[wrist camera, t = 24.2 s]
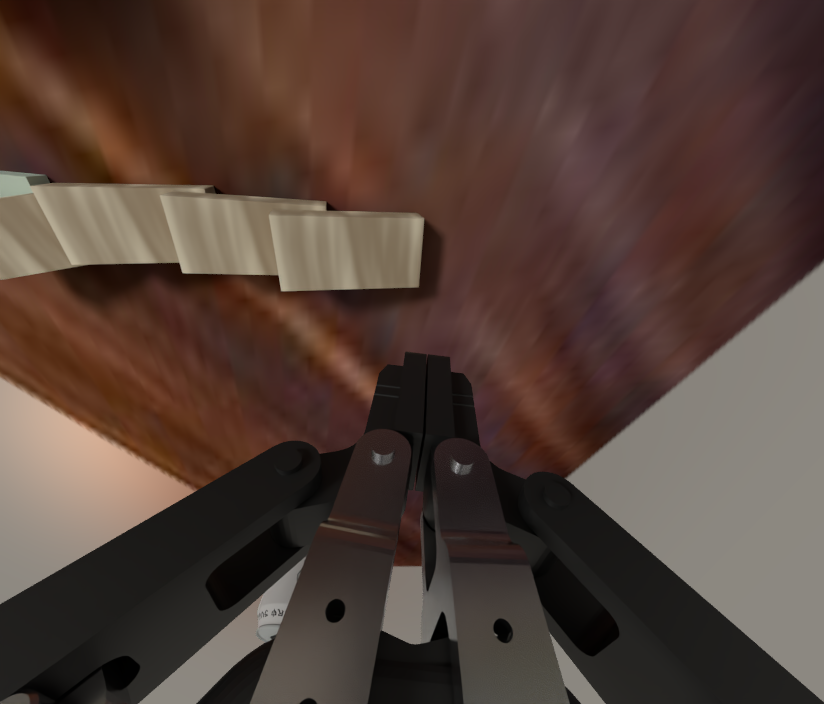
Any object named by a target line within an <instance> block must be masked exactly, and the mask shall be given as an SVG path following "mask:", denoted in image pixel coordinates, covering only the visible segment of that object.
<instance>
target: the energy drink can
mask: <svg viewBox="0 0 824 704" xmlns="http://www.w3.org/2000/svg"><path fill="white" fill-rule="evenodd" d="M306 557H307V556H306ZM306 557H305V558H303V559H302V560H301V561H300V562H299V563H298V564H297V565H295V566H294V567H293V568H292V569H291V570H290V571H289V572H287V573H286V574H285V575H284V576H283V577H282V578H281V579H279V580H278V581H277V582H276V583H275V584H274V585H273V586H271V587H270V588H269V589H268V590H267V591H266V592H265V593H264V594H263V597H262V599H261V602H260V605H259V607H258V629H257V631H256V636H257V637H258V638H259V639H261V640H262V641H264V642H268V641H270V640H272V639H274V638H275V637H276V635H277V632H278V629H279V627H280V624H281V622H282V619H283V616H284V614H285V611H286V609H287V606H288V603H289V601H290V598H291V596H292V593H293V590H294V588H295V585H296V583H297V580H298V577H299V575H300V572H301V570H302V567H303V564H304V562H305V559H306Z"/></svg>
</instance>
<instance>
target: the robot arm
mask: <svg viewBox="0 0 824 704" xmlns="http://www.w3.org/2000/svg"><path fill="white" fill-rule="evenodd" d="M426 357H427V355H426V354H420V353H412V352H405V358H404V365H403V366H397V365H389V364H388V365H387V366H386V367H385V368H384V369H383V370H382V371H381V372H380V373H379V377H378V381H377V386H376V389H375V394H374V397H373V401H372V405H371V410H370V414H369V418H368V422H367V426H366V430H365V433H364V435H363V436H362V437H361V438H360V439H359V440H358V441H357V443H356V444H354V445H353V446H351V447H349V448H347V449H344V450H340V451H336V452H329V453H323V454H319V452H318V451H317V449H316V448H315V447H313V446H312V445H310V444H309V443H306V442H302V441H288V442H283V443H280V444H278V445H276V446H274V447H272V448H270V449H268V450H267V451H265V452H263V453H261V454H260V455H258V456H256V457H254V458H253V459H251V460H249V461H248V462H246V463H244V464H242V465H241V466H239V467H237V468H235V469H234V470H232V471H230V472H229V473H227V474H225V475H223V476H222V477H220V478H218V479H216V480H215V481H213V482H211V483H209V484H208V485H206V486H204V487H203V488H201V489H199V490H197V491H196V492H194V493H192V494H190V495H189V496H187V497H185V498H183V499H182V500H180V501H178V502H177V503H175V504H173V505H171V506H170V507H168V508H166V509H165V510H163V511H161V512H159V513H158V514H156V515H154V516H152V517H151V518H149V519H147V520H145V521H144V522H142V523H140V524H139V525H137V526H135V527H133V528H132V529H130V530H128V531H126V532H125V533H123V534H121V535H119V536H118V537H116V538H114V539H113V540H111V541H109V542H107V543H106V544H104V545H102V546H100V547H99V548H97V549H95V550H94V551H92V552H90V553H88V554H87V555H85V556H83V557H81V558H80V559H78V560H76V561H74V562H73V563H71V564H69V565H67V566H66V567H64V568H62V569H61V570H59V571H57V572H55V573H54V574H52V575H50V576H49V577H47V578H45V579H43V580H42V581H40V582H38V583H36V584H35V585H33V586H31V587H30V588H28V589H26V590H24V591H22V592H21V593H19V594H17V595H16V596H14V597H12V598H10V599H9V600H7V601H5V602H4V603H2V604H0V704H138V703H139V702H140V701H141V700H143V699H144V698H145V697H146V696H147V695H148V694H149V693H151V692H152V691H153V690H154V689H155V688H156V687H157V686H159V685H160V684H161V683H162V682H163V681H164V680H165V679H167V678H168V677H169V676H170V675H171V674H172V673H173V672H175V671H176V670H177V669H178V668H179V667H180V666H181V665H182V664H184V663H185V662H186V661H187V660H188V659H189V658H190V657H192V656H193V655H194V654H195V653H196V652H197V651H198V650H199V649H201V648H202V647H203V646H204V645H205V644H206V643H208V642H209V641H210V640H211V639H212V638H213V637H214V636H215V635H217V634H218V633H219V632H220V631H221V630H222V629H224V628H225V627H226V626H227V625H228V624H229V623H230V622H232V621H233V620H234V619H235V618H236V617H237V616H238V615H240V614H241V613H242V612H243V611H244V610H245V609H246V608H247V607H248V606H250V605H251V604H252V603H253V602H254V601H256V599H258V598H259V597H260V596H261V595H262V594H263V593H265V592H266V591H267V590H268V589H269V588H270V587H271V586H273V585H274V584H275V583H276V582H277V581H278V580H279V579H281V578H282V577H283V576H284V575H285V574H286V573H287V572H289V571H290V570H291V569H292V568H293V567H294V566H295V565H297V564H298V563H299V562H300V561H301V560H302V559H303V558H305V557H306V556H307V557H306V559H305V562H304V564H303V567H302V570H301V572H300V575H299V577H298V580H297V583H296V585H295V588H294V590H293V593H292V596H291V598H290V601H289V603H288V606H287V609H286V611H285V614H284V616H283V619H282V622H281V624H280V627H279V629H278V632H277V635H276V637H275V638H274V639H272V640H270V641H268V642H266V643H264V644H263V645H261V646H259V647H258V648H256V649H255V650H253V651H252V652H251V653H249V654H248V655H247V656H245V657H244V658H243V659H242V660H241V661H239V662H238V663H237V664H236V665H234V666H233V667H232V668H231V669H230V670H229V671H228V672H227V673H226V674H225V675H224V676H223V677H222V678H221V679H220V680H219V681H218V682H217V683H216V684H215V685H214V686H213V687H212V688H211V689H210V690H209V691H208V692H207V694H205V696H203V697H202V699H201V700H200V701H199V702H198V703H197V704H581V703H580V702H579V701H578V700H577V699H576V697H575V696H574V695H573V694H572V693H571V692H570V691H569V690H568V689H567V688H566V687H565V685H564V682H563V679H562V675H561V671H560V668H559V665H558V661H557V658H556V654H555V651H554V647H553V644H552V640H551V637H550V633H551V635H552V636H553V637H554V639H555V640H556V641H557V642H558V644H559V645H560V646H561V647H562V649H563V650H564V651H565V653H566V654H567V655H568V656H569V657H570V659H571V660H572V661H573V663H574V664H575V665H576V667H577V668H578V669H579V670H580V672H581V673H582V674H583V675H584V677H585V678H586V679H587V680H588V682H589V683H590V684H591V686H592V687H593V688H594V689H595V691H596V692H597V693H598V694H599V696H600V697H601V698H602V700H603V701H604V702H605V703H606V704H824V702H823V701H822V700H820V699H819V698H818V697H817V696H816V695H815V694H813V693H812V692H811V691H810V690H809V689H808V688H806V687H805V686H804V685H803V684H802V683H801V682H799V681H798V680H797V679H796V678H795V677H794V676H792V674H790V673H789V672H788V671H787V670H786V669H785V668H784V667H782V666H781V665H780V664H779V663H778V662H777V661H775V660H774V659H773V658H772V657H771V656H770V655H768V654H767V653H766V652H765V651H764V650H762V648H760V647H759V646H758V645H757V644H756V643H755V642H754V641H752V640H751V639H750V638H749V637H748V636H747V635H745V634H744V633H743V632H742V631H741V630H740V629H738V628H737V627H736V626H735V625H734V624H733V623H732V622H730V621H729V620H728V619H727V618H726V617H725V616H724V615H722V614H721V613H720V612H719V611H718V610H717V609H716V608H714V607H713V606H712V605H711V604H710V603H709V602H707V601H706V600H705V599H704V598H703V597H701V596H700V595H699V594H698V593H697V592H696V591H695V590H694V589H692V588H691V587H690V586H689V585H688V584H687V583H686V582H684V581H683V580H682V579H681V578H680V577H678V576H677V575H676V574H675V573H674V572H673V571H672V570H670V569H669V568H668V567H667V566H666V565H665V564H664V563H662V562H661V561H660V560H659V559H658V558H657V557H656V556H654V555H653V554H652V553H651V552H650V551H649V550H647V549H646V548H645V547H644V546H643V545H642V544H641V543H639V542H638V541H637V540H636V539H635V538H634V537H632V536H631V535H630V534H629V533H628V532H627V531H626V530H624V529H623V528H622V527H621V526H620V525H619V524H618V523H616V522H615V521H614V520H613V519H612V518H611V517H609V516H608V515H607V514H606V513H605V512H604V511H603V510H601V509H600V508H599V507H598V506H597V505H595V504H594V503H593V502H592V501H591V500H590V499H589V498H588V497H586V496H585V495H584V494H583V493H582V492H581V491H580V490H578V489H577V488H576V487H575V486H574V485H573V484H571V483H570V482H569V481H567V480H566V479H564V478H563V477H561V476H559V475H556V474H553V473H549V472H537V473H533V474H532V475H530V476H529V477H528V478H527V479H526V480H525V479H523V478H520V477H518V476H516V475H513V474H511V473H508V472H506V471H504V470H502V469H500V468H498V467H497V466H495V465H494V464H493V463H491V462H490V461H489V458H488V456H487V454H486V453H485V451H484V450H483V449H482V448H481V446H480V442H479V435H478V428H477V421H476V414H475V407H474V400H473V393H472V387H471V383H470V382H469V381H468V379H467V378H466V376H465V375H464V374H463V373H454V372H451V368H450V357H445V356H437V355H429V354H428V357H427V363H426ZM415 476H416V487H415V491H423V508H422V513H421V519H420V522H421V551H422V579H423V606H422V620H421V644H416V645H414V644H409V643H407V642H405V641H403V640H400V639H398V638H396V637H394V636H392V635H390V634H388V633H386V632H384V631H382V628H383V622H384V617H385V610H386V604H387V598H388V593H389V587H390V581H391V575H392V569H393V563H394V557H395V552H396V546H397V540H398V534H399V528H400V522H401V517H402V515H403V513H404V511H405V506H406V500H407V494H408V490H413V487H414V482H415ZM549 632H550V633H549Z"/></svg>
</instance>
